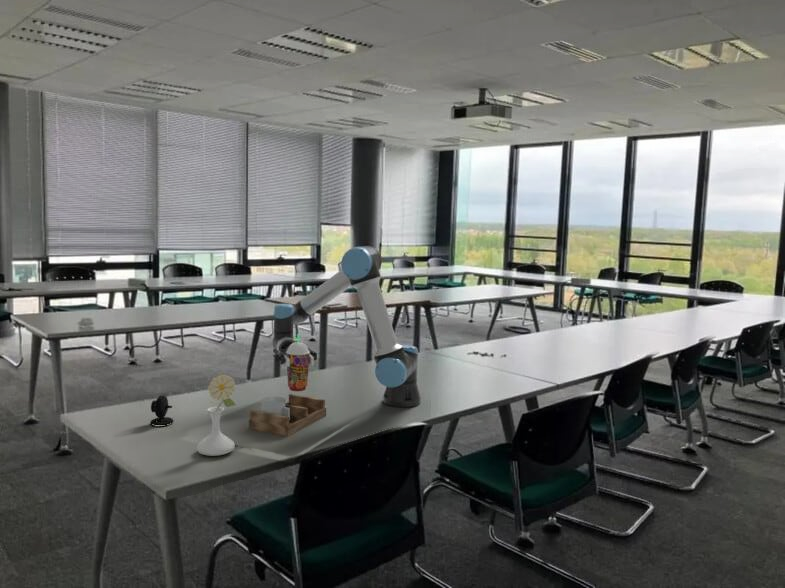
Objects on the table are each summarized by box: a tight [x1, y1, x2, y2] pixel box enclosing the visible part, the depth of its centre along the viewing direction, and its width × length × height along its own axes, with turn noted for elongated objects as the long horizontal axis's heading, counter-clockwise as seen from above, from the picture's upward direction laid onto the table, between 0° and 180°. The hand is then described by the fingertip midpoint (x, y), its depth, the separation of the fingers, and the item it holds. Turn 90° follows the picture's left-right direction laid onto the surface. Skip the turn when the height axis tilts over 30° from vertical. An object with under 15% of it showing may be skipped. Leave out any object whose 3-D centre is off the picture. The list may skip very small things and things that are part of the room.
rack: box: [248, 393, 327, 437], centre depth 218 cm, size 16×24×8 cm, turn 155°
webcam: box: [150, 395, 174, 425], centre depth 217 cm, size 8×8×10 cm
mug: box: [261, 396, 290, 421], centre depth 213 cm, size 10×8×9 cm
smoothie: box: [286, 333, 310, 392], centre depth 221 cm, size 8×8×20 cm
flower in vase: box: [196, 374, 237, 457], centre depth 191 cm, size 13×11×25 cm
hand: (300, 362), depth 216 cm, fingers closed on smoothie, 8 cm apart
